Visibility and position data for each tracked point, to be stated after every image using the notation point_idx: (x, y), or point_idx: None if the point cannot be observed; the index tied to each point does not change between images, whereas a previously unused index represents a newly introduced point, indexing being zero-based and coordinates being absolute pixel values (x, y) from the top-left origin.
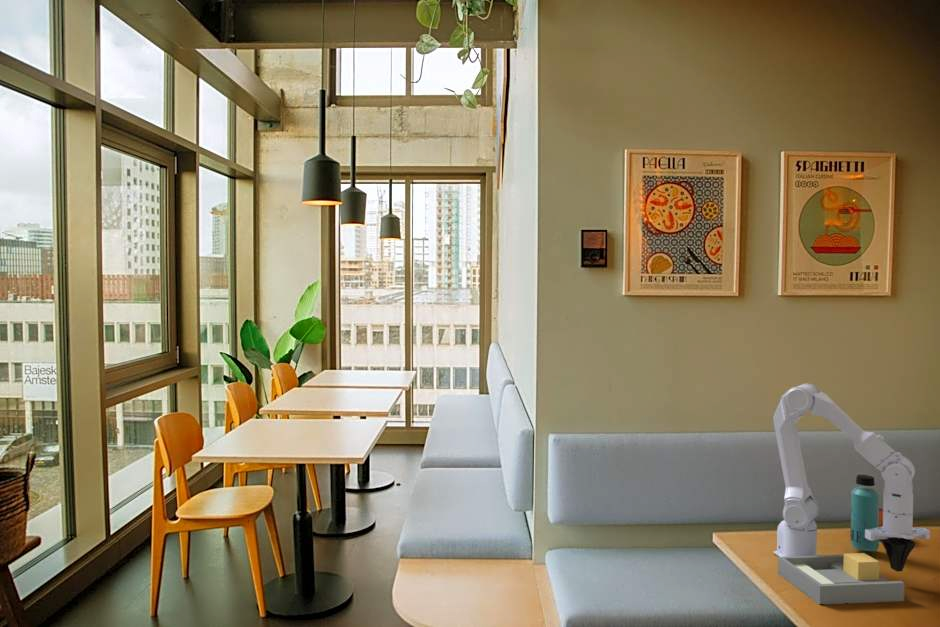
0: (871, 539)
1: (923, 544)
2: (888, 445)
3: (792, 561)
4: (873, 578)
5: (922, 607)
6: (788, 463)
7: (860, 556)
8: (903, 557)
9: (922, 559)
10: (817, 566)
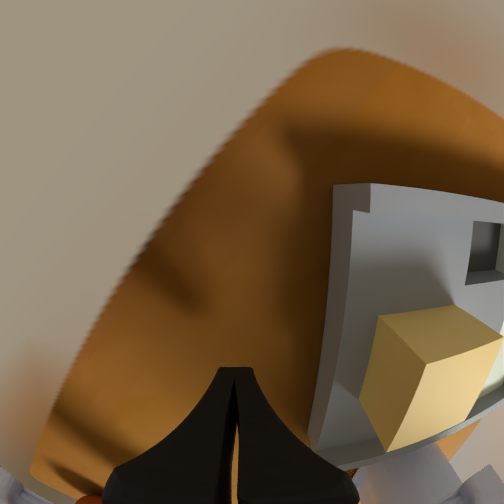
0: (490, 471)
1: (46, 462)
2: None
3: (495, 395)
4: (405, 313)
5: (294, 120)
6: None
7: (440, 412)
8: (222, 418)
9: (62, 437)
10: None
